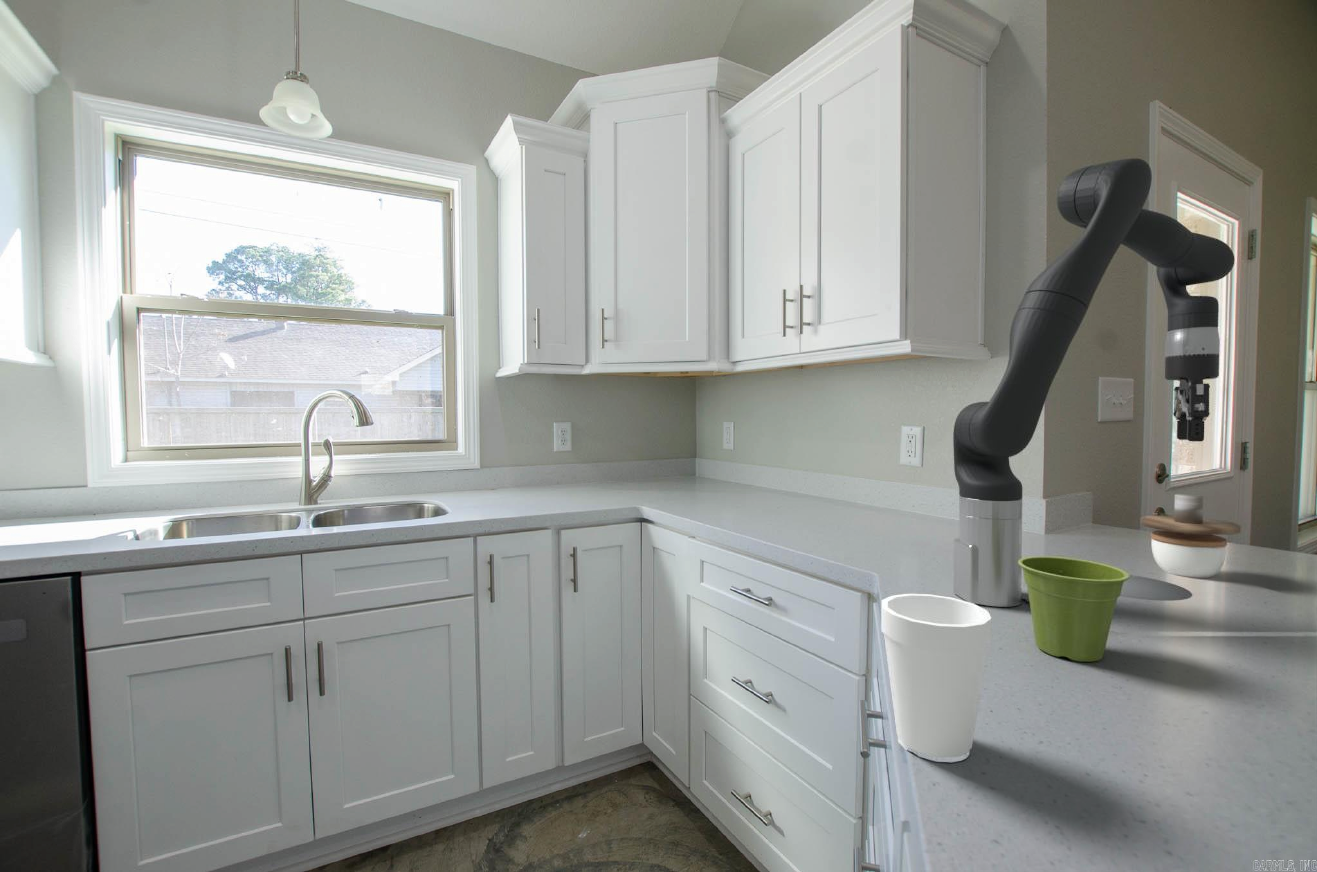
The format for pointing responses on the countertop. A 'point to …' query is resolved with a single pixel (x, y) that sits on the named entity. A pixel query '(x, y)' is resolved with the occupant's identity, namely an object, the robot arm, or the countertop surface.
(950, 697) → the foam cup
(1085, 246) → the robot arm
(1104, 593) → the plant pot
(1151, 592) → the rubber mat
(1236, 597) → the countertop surface
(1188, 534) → the lidded jar
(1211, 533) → the walnut lid
